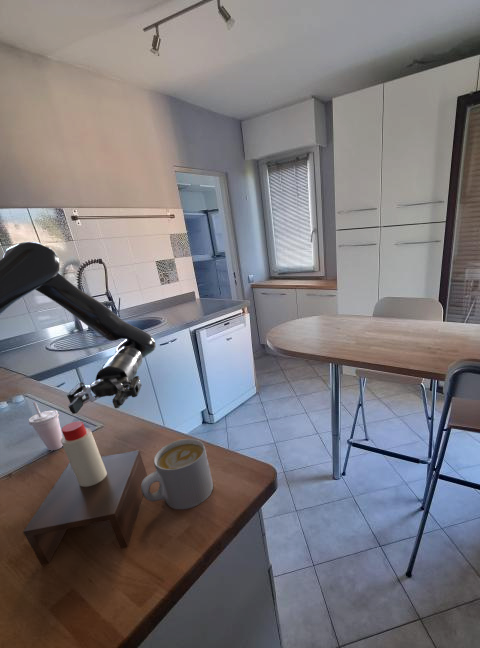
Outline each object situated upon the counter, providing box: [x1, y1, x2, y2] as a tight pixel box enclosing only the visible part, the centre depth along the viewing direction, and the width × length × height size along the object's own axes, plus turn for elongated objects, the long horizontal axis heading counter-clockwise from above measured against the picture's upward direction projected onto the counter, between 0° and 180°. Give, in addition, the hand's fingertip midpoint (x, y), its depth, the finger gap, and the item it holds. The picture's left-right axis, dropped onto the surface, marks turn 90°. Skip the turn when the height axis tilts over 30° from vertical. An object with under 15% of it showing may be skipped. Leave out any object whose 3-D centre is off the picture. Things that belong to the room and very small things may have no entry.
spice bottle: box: [61, 420, 107, 487], centre depth 63 cm, size 5×5×12 cm
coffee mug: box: [141, 438, 214, 510], centre depth 69 cm, size 13×10×10 cm
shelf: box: [22, 450, 148, 566], centre depth 65 cm, size 14×18×8 cm
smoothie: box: [28, 401, 64, 452], centre depth 88 cm, size 6×6×14 cm
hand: (94, 407), depth 70 cm, fingers open, 8 cm apart
